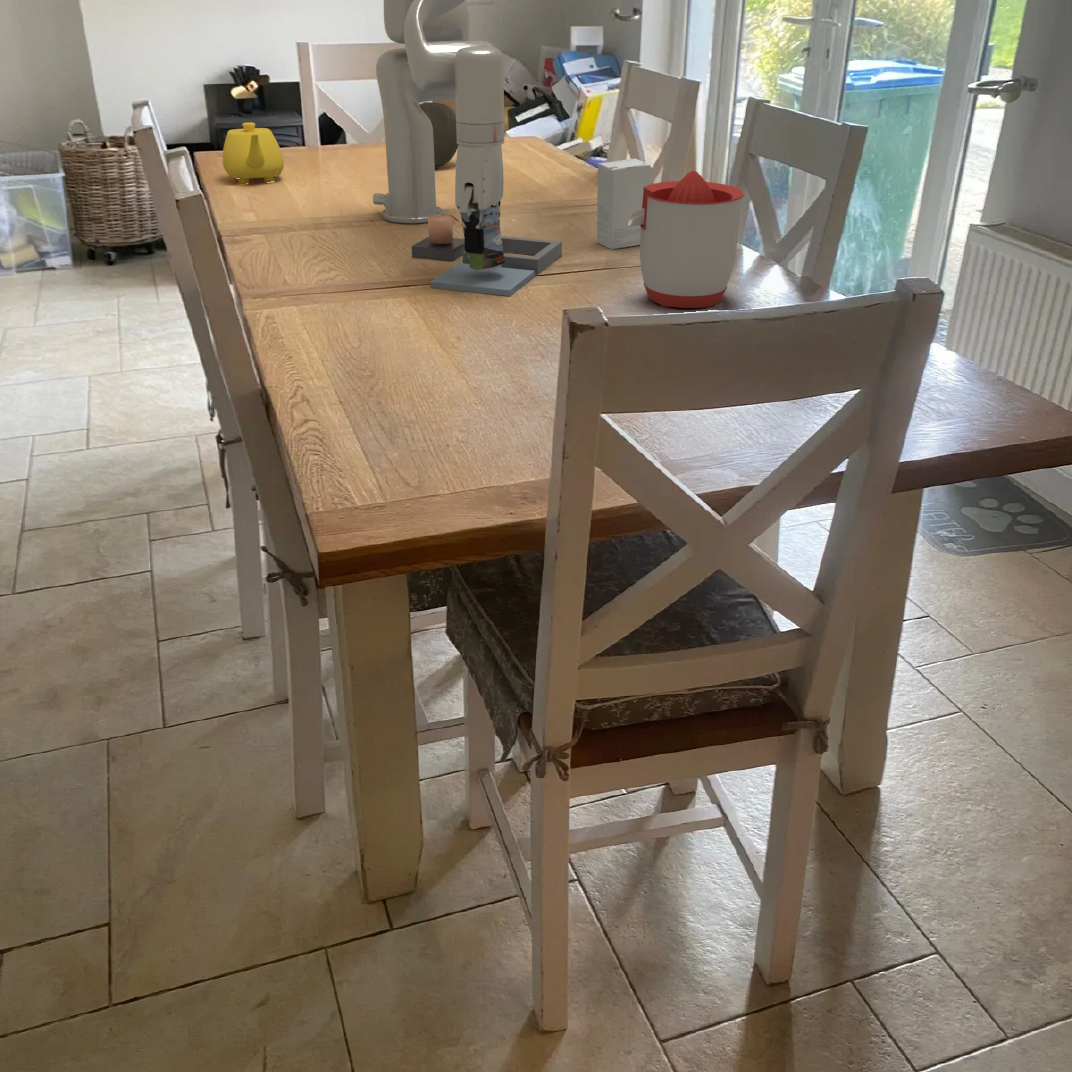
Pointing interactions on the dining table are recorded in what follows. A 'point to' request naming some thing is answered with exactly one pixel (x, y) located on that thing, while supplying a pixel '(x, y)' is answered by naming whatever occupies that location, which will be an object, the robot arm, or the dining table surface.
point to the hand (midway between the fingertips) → (482, 246)
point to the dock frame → (541, 250)
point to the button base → (439, 249)
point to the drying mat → (483, 280)
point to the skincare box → (620, 201)
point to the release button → (440, 229)
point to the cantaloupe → (442, 131)
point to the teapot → (252, 154)
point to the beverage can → (488, 242)
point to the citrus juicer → (688, 240)
